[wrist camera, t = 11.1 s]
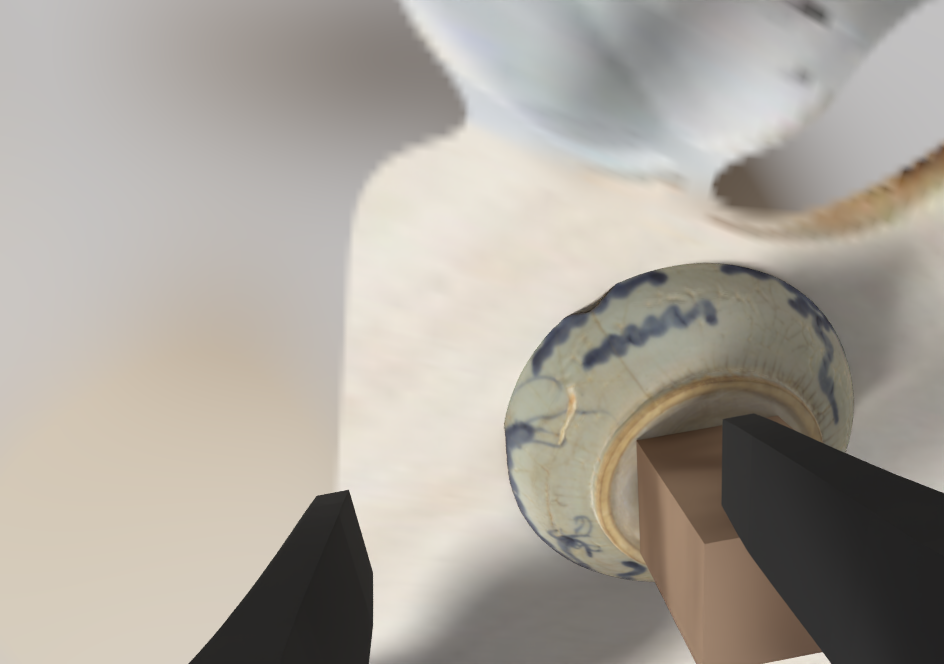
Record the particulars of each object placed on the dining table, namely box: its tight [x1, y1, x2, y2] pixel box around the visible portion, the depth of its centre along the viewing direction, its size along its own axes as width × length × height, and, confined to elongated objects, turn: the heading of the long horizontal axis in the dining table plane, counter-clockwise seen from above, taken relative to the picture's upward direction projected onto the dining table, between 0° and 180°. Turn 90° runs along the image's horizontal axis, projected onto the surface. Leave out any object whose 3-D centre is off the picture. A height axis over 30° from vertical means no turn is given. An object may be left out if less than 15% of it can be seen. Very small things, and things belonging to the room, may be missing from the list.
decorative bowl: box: [504, 263, 854, 582], centre depth 23 cm, size 15×4×15 cm
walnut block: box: [636, 415, 822, 664], centre depth 19 cm, size 5×5×5 cm
